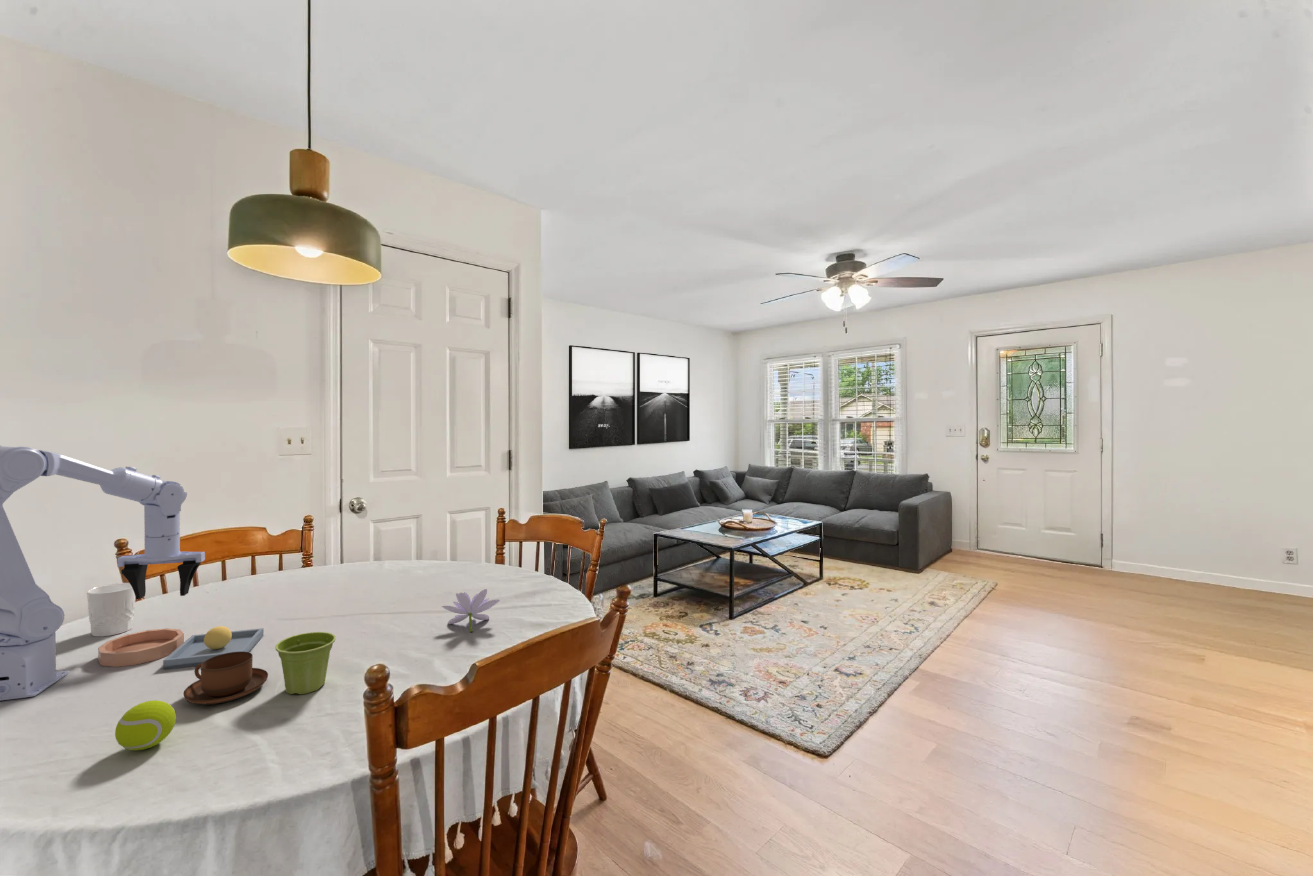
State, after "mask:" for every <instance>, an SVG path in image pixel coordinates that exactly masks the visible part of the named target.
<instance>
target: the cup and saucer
mask: <svg viewBox="0 0 1313 876" xmlns="http://www.w3.org/2000/svg"><path fill="white" fill-rule="evenodd" d="M253 659H254V657H253V654H252V653H251V652H243V651H240V652H230V653H225V654H221V655H218V656H215V657H212V658H210V659H208V660H206V661H204V662H203V663H201V664H198V665H197V666H194V667H195V668H194V675H195V677H196V679H198V680H196V681H194V682H193V683H191V684H190V685H188V686H187V687H185V688H184V691H183V698H184V699H185V700H186V701H187V702H189V703H191V704H195V705H215V704H221V703H226V702H230V701H231V702H232V701H234V700H236V699H237V700H238V699H240V698H243V697H245V696H247V695H249V694H251V693H253V692H255V691H257V690H258V689H259V688H261V687H263V685H264V684H265V683H266V681H267V680H268V677H269V672H268V671H266V669H263V668H258V667H253ZM199 670H200V672H199Z"/></svg>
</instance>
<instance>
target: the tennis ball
mask: <svg viewBox="0 0 1313 876" xmlns="http://www.w3.org/2000/svg"><path fill="white" fill-rule="evenodd" d="M176 720H177V715H176V710H175V709H174V707H172V705H171V704H169V703H168V702H166V701H163V700H157V699H156V700H155V699H154V700H148V701H147V700H146V701H143V702H141V703H138V704H137V705H134V706H133V707H131V708H130V709H128V710H127V711H126V712H125V713H124V714H123V715H122V716H121V718H120V719H119V720H118V722H117V724H116V727H115V733H114V736H115V740H116V742H117V743H118V745H119V746H120V747H122V748H124V749H125V750H127V751H143V750H144V751H145V750H147V749H149V748H152V747H155V746H156V745H158V744H159V743H161V742H162V741H164V740H165V739H166V738H168V736H170V734H171V732H172V730H174V727H175V724H176Z"/></svg>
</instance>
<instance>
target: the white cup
mask: <svg viewBox="0 0 1313 876" xmlns="http://www.w3.org/2000/svg"><path fill="white" fill-rule="evenodd" d="M86 595H87V596H86V597H87V611H88V620H89V621H88V622H89V623H90V635H91V636H93V637H109V636H114V635H118V634H122V633H125V632H128V631H131V630H132V629H133V626H134V617H135V611H136V610H135V609H136V596H135V593H134V591H133V588H132V586H131V585H130V583H129V582H119V583H111V584H104V585H101V586H99V585H98V586H96V587H92V588H90V589H88V590H87V591H86Z"/></svg>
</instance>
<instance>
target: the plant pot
mask: <svg viewBox="0 0 1313 876" xmlns="http://www.w3.org/2000/svg"><path fill="white" fill-rule="evenodd" d="M336 638H337V637H336V635H335V634H334V633H332V632H327V631H312V632H311V631H310V632H304V633H299V634H296V635H295V634H294V635H292V636H288V637H286V638H284V639H282V640H280V641H279V642H277V643H276V645H275V646H274V648H275V651H276V652H277V655H278V657H279V658H280V663H281V667H282V674H283V681H284V687H285V692H286V693H287V694H289V695H293V694H299V695H306V694H309V693H313V692H315V691H317V690H319V689H321V687H322V686H325V683H326V678H327V672H328V666H329V661H330V660H329V659H330V653H331V650H332V648H333V644H334V643H335V641H336Z"/></svg>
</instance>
